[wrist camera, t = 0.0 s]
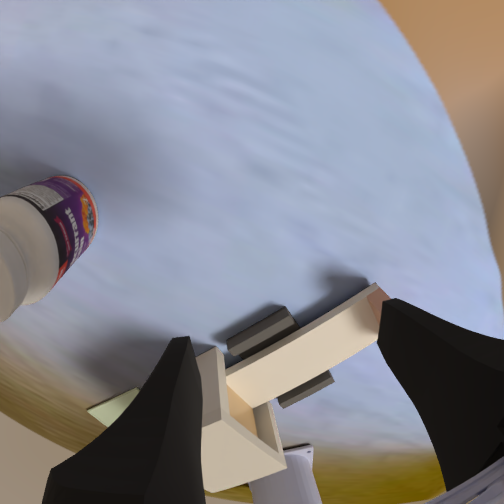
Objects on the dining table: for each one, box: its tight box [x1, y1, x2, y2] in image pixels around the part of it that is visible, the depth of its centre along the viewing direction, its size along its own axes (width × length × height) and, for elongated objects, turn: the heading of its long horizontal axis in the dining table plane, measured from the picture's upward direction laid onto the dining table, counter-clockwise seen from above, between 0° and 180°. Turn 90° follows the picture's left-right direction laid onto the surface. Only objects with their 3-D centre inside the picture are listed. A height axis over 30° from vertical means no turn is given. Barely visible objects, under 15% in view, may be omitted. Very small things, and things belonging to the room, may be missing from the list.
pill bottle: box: [0, 176, 98, 322], centre depth 13 cm, size 5×5×10 cm
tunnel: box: [195, 347, 287, 493], centre depth 22 cm, size 9×7×7 cm
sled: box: [225, 283, 391, 437], centre depth 22 cm, size 5×21×5 cm, turn 121°
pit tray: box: [227, 306, 335, 409], centre depth 24 cm, size 9×5×1 cm, turn 31°
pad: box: [87, 387, 140, 427], centre depth 26 cm, size 9×7×1 cm
